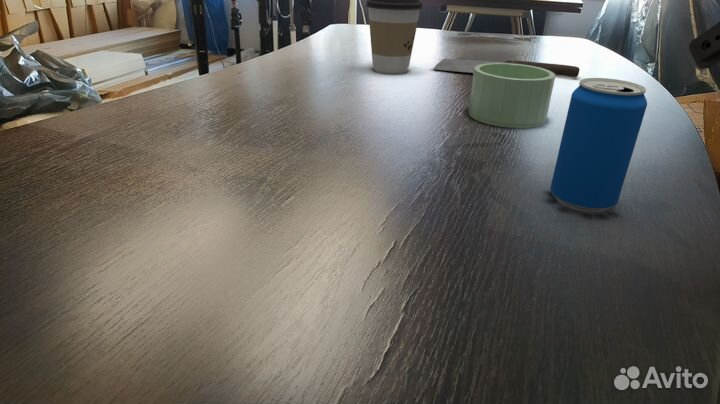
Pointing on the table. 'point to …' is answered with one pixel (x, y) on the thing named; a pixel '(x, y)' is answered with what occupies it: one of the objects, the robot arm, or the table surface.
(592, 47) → the table surface
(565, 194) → the beverage can
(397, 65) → the coffee cup
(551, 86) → the canister
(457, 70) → the cleaver
